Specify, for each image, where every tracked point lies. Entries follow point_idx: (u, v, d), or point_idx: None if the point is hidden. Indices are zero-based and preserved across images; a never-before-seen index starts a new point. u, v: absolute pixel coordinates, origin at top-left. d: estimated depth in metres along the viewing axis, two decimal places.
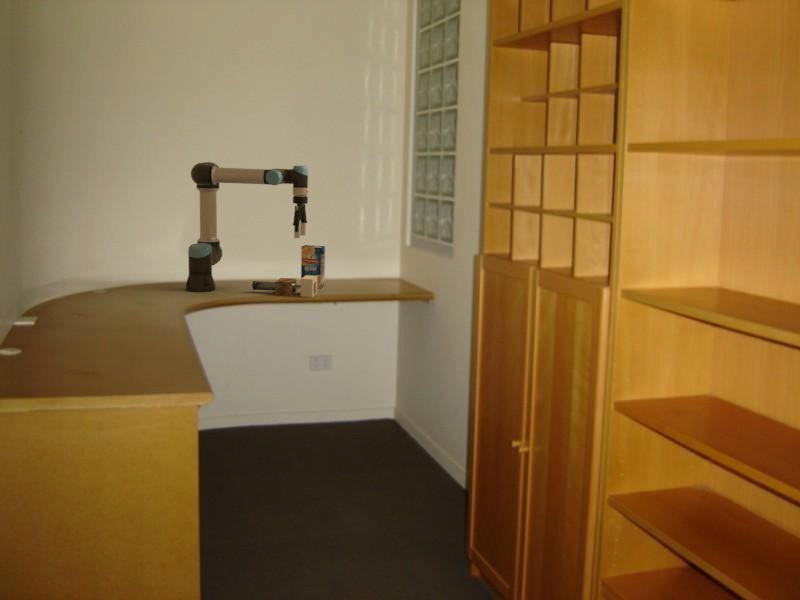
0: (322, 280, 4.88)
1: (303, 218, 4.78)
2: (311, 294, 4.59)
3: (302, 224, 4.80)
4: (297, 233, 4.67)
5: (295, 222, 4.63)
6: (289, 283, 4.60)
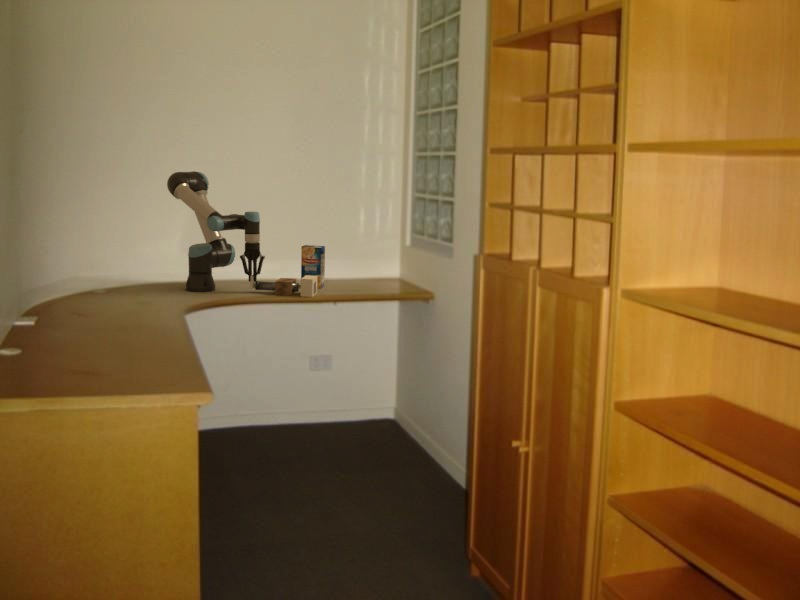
0: (322, 280, 4.88)
1: None
2: (311, 294, 4.59)
3: None
4: None
5: None
6: (289, 283, 4.60)
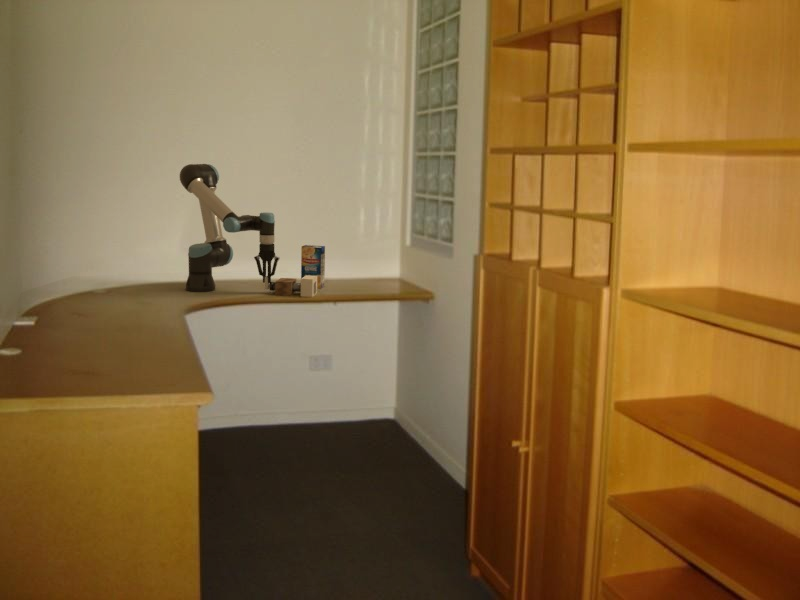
0: (322, 280, 4.88)
1: None
2: (311, 294, 4.59)
3: None
4: None
5: None
6: (289, 283, 4.60)
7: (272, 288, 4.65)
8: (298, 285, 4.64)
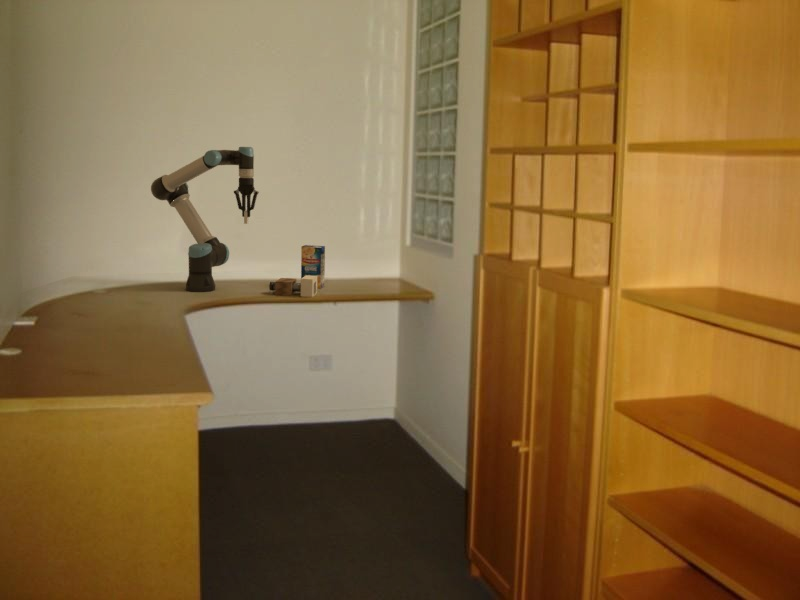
0: (322, 280, 4.88)
1: None
2: (311, 294, 4.59)
3: None
4: None
5: None
6: (289, 283, 4.60)
7: (272, 288, 4.65)
8: (298, 285, 4.64)
